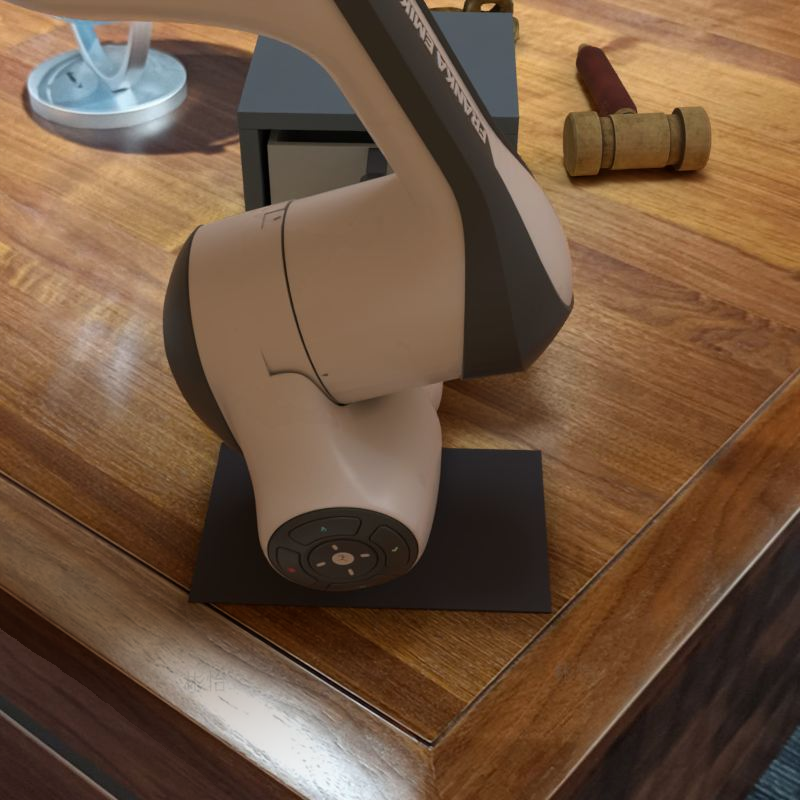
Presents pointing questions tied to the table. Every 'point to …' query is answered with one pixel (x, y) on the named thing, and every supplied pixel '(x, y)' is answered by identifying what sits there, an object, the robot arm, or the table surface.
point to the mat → (438, 565)
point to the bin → (321, 162)
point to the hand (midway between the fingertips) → (375, 214)
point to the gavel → (629, 127)
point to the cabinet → (329, 110)
